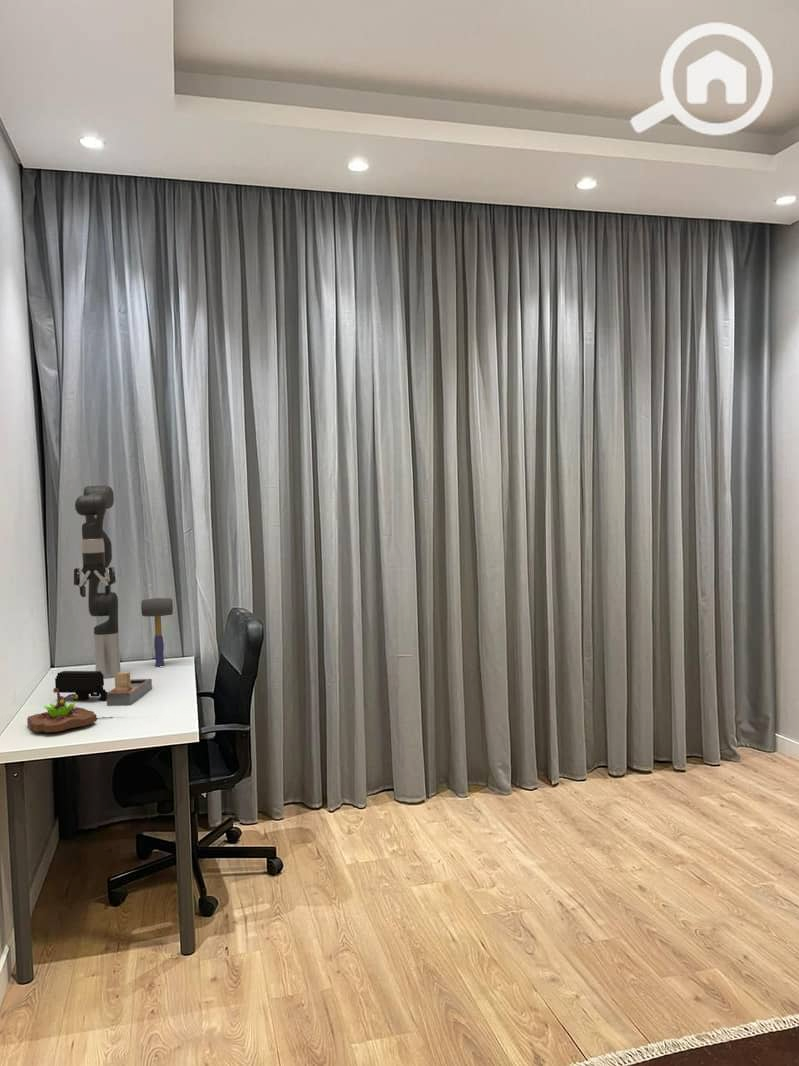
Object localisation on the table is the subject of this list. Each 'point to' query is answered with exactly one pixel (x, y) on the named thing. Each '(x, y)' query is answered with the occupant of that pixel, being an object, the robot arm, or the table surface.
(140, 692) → the rail
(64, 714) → the plant
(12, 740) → the table surface
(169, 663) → the table surface
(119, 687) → the brown upright block
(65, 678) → the security camera
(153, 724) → the table surface
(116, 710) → the table surface
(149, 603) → the rubber mallet
